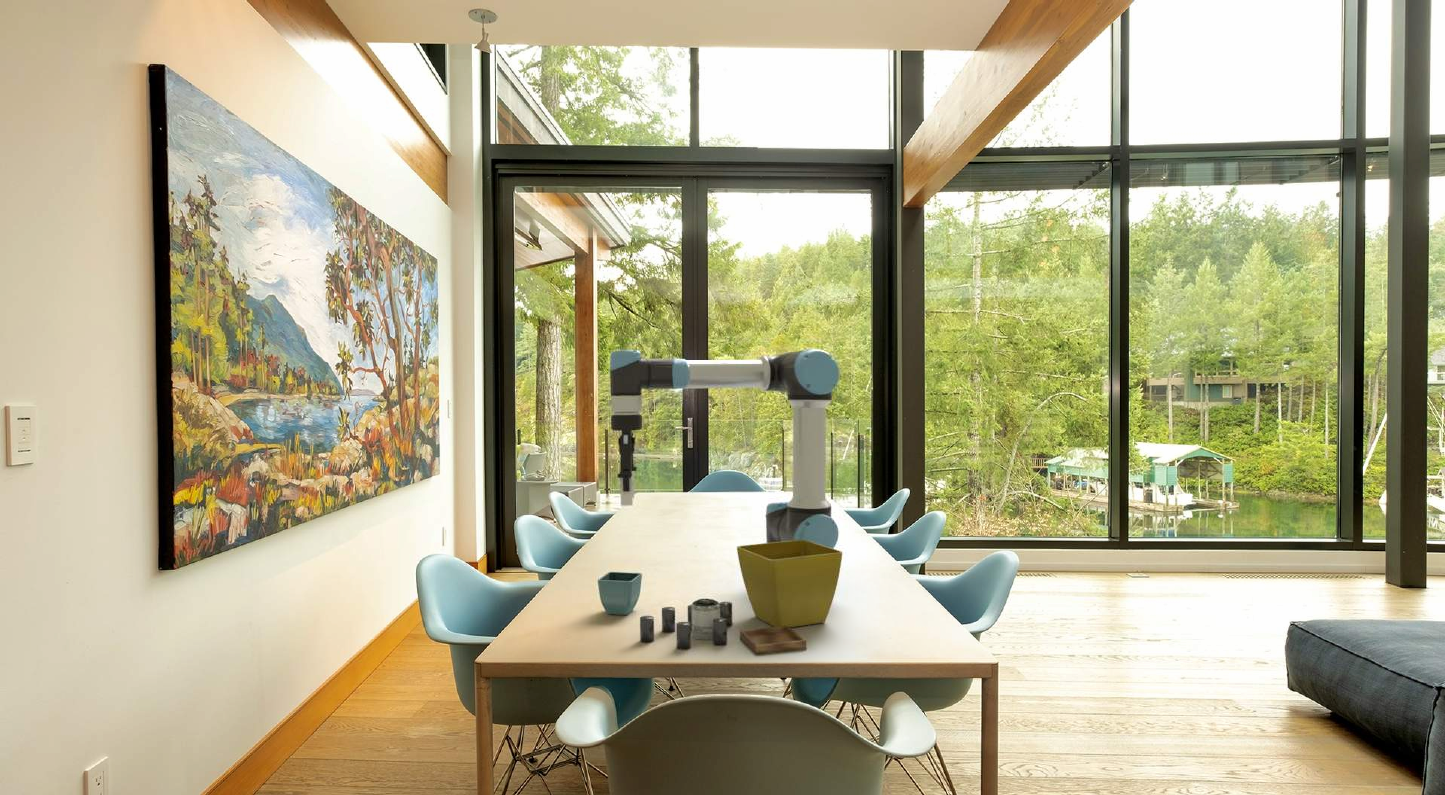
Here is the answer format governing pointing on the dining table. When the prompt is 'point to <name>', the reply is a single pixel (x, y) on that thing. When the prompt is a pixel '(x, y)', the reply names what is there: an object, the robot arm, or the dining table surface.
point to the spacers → (687, 626)
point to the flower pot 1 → (619, 591)
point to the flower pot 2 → (790, 581)
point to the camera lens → (704, 618)
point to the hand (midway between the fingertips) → (627, 501)
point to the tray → (772, 640)
